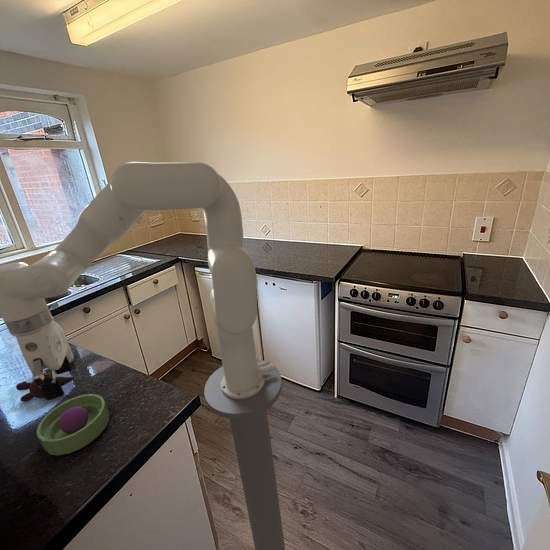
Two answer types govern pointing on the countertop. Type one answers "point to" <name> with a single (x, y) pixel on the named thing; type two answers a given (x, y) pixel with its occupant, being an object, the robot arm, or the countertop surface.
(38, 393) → the brown gnome figurine
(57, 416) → the bowl
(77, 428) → the ball
